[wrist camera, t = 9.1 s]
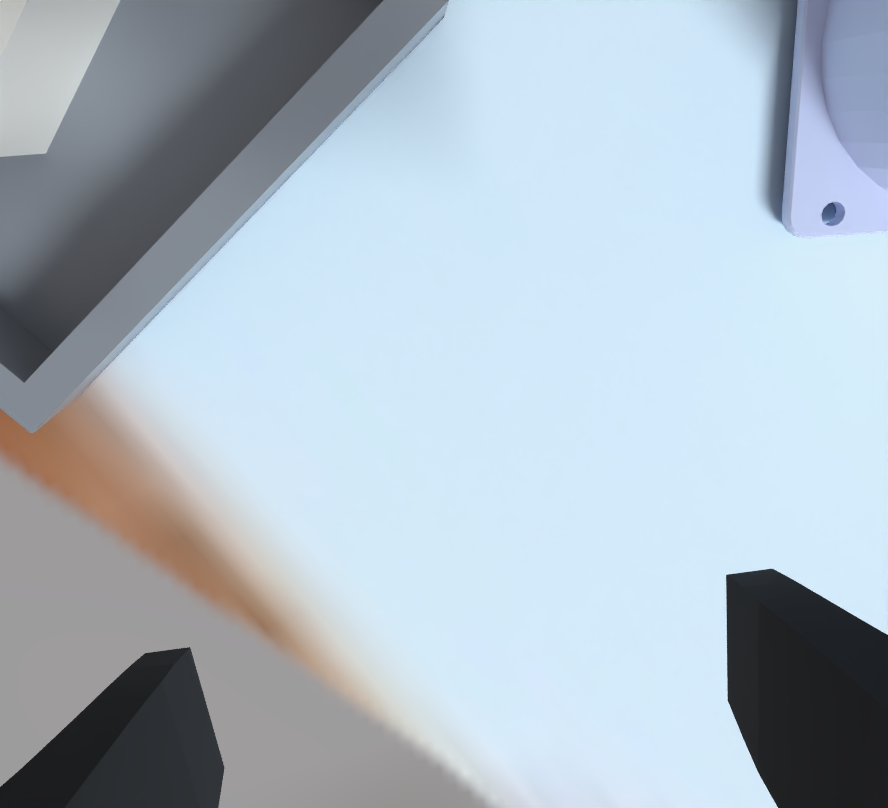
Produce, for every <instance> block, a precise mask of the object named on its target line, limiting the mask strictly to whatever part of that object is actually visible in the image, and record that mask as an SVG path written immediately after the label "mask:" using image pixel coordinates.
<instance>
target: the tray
mask: <svg viewBox="0 0 888 808" xmlns="http://www.w3.org/2000/svg"><path fill="white" fill-rule="evenodd" d="M448 1H449V0H120V2H119V4H118V6H117V8H116V11H115V13H114V15H113V17H112V19H111V21H110V23H109V25H108V27H107V29H106V31H105V33H104V35H103V37H102V39H101V41H100V43H99V45H98V48H97V50H96V52H95V54H94V56H93V58H92V60H91V62H90V64H89V66H88V68H87V70H86V72H85V74H84V76H83V78H82V80H81V82H80V84H79V87H78V89H77V91H76V93H75V95H74V97H73V99H72V101H71V103H70V105H69V107H68V109H67V111H66V113H65V115H64V117H63V119H62V121H61V124H60V126H59V128H58V130H57V132H56V134H55V136H54V138H53V140H52V142H51V144H50V146H49V148H48V150H47V152H46V154H33V155H19V156H5V157H0V409H2V410H3V411H4V412H5V413H7V414H8V415H9V416H10V417H11V418H13V419H14V420H15V421H16V422H18V423H19V424H20V425H21V426H23V427H24V428H25V429H26V430H28V431H29V432H30V433H31V434H33V433H34V432H35V431H37V430H38V429H39V428H40V427H41V426H43V425H44V424H45V423H46V422H48V421H49V420H50V419H51V418H53V417H54V416H55V415H56V414H57V413H59V412H60V411H61V410H62V409H64V408H65V407H66V406H67V405H69V404H70V403H71V402H72V401H73V400H75V399H76V398H77V397H78V396H79V395H80V394H81V393H82V392H83V391H84V390H85V389H86V388H87V387H88V386H89V385H90V384H91V383H92V382H93V381H94V380H95V379H96V378H97V377H98V375H99V374H100V373H101V372H102V371H103V370H104V369H105V368H106V367H107V366H108V365H109V364H110V363H111V362H112V361H113V360H114V359H115V358H116V357H117V356H118V355H119V354H120V353H121V352H122V351H123V350H124V349H125V347H126V346H127V345H128V344H129V343H130V342H131V341H132V340H133V339H134V338H135V337H136V336H137V335H138V334H139V333H140V332H141V331H142V330H143V329H144V328H145V327H146V326H147V325H148V324H149V323H150V322H151V321H152V319H153V318H154V317H155V316H156V315H157V314H158V313H159V312H160V311H161V310H162V309H163V308H164V307H165V306H166V305H167V304H168V303H169V302H170V301H171V300H172V299H173V298H174V297H175V296H176V295H177V294H178V293H179V292H180V290H181V289H182V288H183V287H184V286H185V285H186V284H187V283H188V282H189V281H190V280H191V279H192V278H193V277H194V276H195V275H196V274H197V273H198V272H199V271H200V270H201V269H202V268H203V267H204V266H205V265H206V264H207V262H208V261H209V260H210V259H211V258H212V257H213V256H214V255H215V254H216V253H217V252H218V251H219V250H220V249H221V248H222V247H223V246H224V245H225V244H226V243H227V242H228V241H229V240H230V239H231V238H232V237H233V236H234V234H235V233H236V232H237V231H238V230H239V229H240V228H241V227H242V226H243V225H244V224H245V223H246V222H247V221H248V220H249V219H250V218H251V217H252V216H253V215H254V214H255V213H256V212H257V211H258V210H259V209H260V208H261V207H262V205H263V204H264V203H265V202H266V201H267V200H268V199H269V198H270V197H271V196H272V195H273V194H274V193H275V192H276V191H277V190H278V189H279V188H280V187H281V186H282V185H283V184H284V183H285V182H286V181H287V180H288V179H289V177H290V176H291V175H292V174H293V173H294V172H295V171H296V170H297V169H298V168H299V167H300V166H301V165H302V164H303V163H304V162H305V161H306V160H307V159H308V158H309V157H310V156H311V155H312V154H313V153H314V152H315V151H316V149H317V148H318V147H319V146H320V145H321V144H322V143H323V142H324V141H325V140H326V139H327V138H328V137H329V136H330V135H331V134H332V133H333V132H334V131H335V130H336V129H337V128H338V127H339V126H340V125H341V124H342V123H343V122H344V120H345V119H346V118H347V117H348V116H349V115H350V114H351V113H352V112H353V111H354V110H355V109H356V108H357V107H358V106H359V105H360V104H361V103H362V102H363V101H364V100H365V99H366V98H367V97H368V96H369V95H370V94H371V92H372V91H373V90H374V89H375V88H376V87H377V86H378V85H379V84H380V83H381V82H382V81H383V80H384V79H385V78H386V77H387V76H388V75H389V74H390V73H391V72H392V71H393V70H394V69H395V68H396V67H397V66H398V64H399V63H400V62H401V61H402V60H403V59H404V58H405V57H406V56H407V55H408V54H409V53H410V52H411V51H412V50H413V49H414V48H415V47H416V46H417V45H418V44H419V43H420V42H421V41H422V40H423V39H424V38H425V37H426V35H427V34H428V33H429V32H430V31H431V30H432V29H433V28H434V27H435V26H436V25H437V24H438V23H439V22H440V21H441V20H442V19H443V18H444V15H445V11H446V8H447V5H448Z"/></svg>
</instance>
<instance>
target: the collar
mask: <svg viewBox="0 0 888 808" xmlns="http://www.w3.org/2000/svg"><path fill="white" fill-rule="evenodd" d="M119 2H120V0H0V157H5V156H19V155H33V154H46V152H47V150H48V148H49V146H50V144H51V142H52V140H53V138H54V136H55V134H56V132H57V130H58V128H59V126H60V124H61V121H62V119H63V117H64V115H65V113H66V111H67V109H68V107H69V105H70V103H71V101H72V99H73V97H74V95H75V93H76V91H77V89H78V87H79V84H80V82H81V80H82V78H83V76H84V74H85V72H86V70H87V68H88V66H89V64H90V62H91V60H92V58H93V56H94V54H95V52H96V50H97V48H98V45H99V43H100V41H101V39H102V37H103V35H104V33H105V31H106V29H107V27H108V25H109V23H110V21H111V19H112V17H113V15H114V13H115V11H116V8H117V6H118V4H119Z"/></svg>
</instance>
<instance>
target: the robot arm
mask: <svg viewBox="0 0 888 808" xmlns="http://www.w3.org/2000/svg"><path fill="white" fill-rule="evenodd" d="M832 202H833V204H834V205H835V207H836V213H835V216H834V218H833V219H832V220H831V221H830V222H829V223H826V224H825V223H824V222H823V221H822V216H821V214H822V211H823V209H824V208H825V207H826V206H827V205H828V204H829V203H832ZM782 222H783V225H784V227H785V229H786V230H787V231H788V232H789V233H791V234H792V235H794V236H798V237H803V238H817V237H831V236H845V235H858V234H872V233H886V232H888V0H798V6H797V19H796V32H795V46H794V59H793V72H792V86H791V99H790V112H789V125H788V139H787V152H786V165H785V178H784V192H783V205H782ZM726 589H727V677H728V702H729V704H730V707H731V709H732V712H733V714H734V717H735V719H736V722H737V724H738V726H739V729H740V731H741V734H742V736H743V739H744V741H745V743H746V746H747V748H748V750H749V752H750V755H751V757H752V759H753V762H754V764H755V766H756V768H757V771H758V773H759V774H760V776H761V778H762V780H763V782H764V784H765V785H766V787H767V789H768V791H769V792H770V794H771V796H772V798H773V800H774V801H775V803H776V805H777V807H778V808H888V635H887V634H885V633H883V632H881V631H880V630H878V629H876V628H874V627H873V626H871V625H869V624H868V623H866V622H864V621H862V620H861V619H859V618H857V617H856V616H854V615H852V614H850V613H849V612H847V611H845V610H844V609H842V608H840V607H839V606H837V605H835V604H833V603H832V602H830V601H828V600H827V599H825V598H823V597H822V596H820V595H818V594H816V593H815V592H813V591H811V590H810V589H808V588H806V587H804V586H803V585H801V584H799V583H798V582H796V581H794V580H792V579H790V578H789V577H787V576H785V575H783V574H781V573H779V572H777V571H776V570H774V569H767V570H759V571H752V572H744V573H737V574H729V575H726ZM223 773H224V765H223V762H222V758H221V754H220V751H219V747H218V744H217V740H216V737H215V733H214V730H213V726H212V723H211V719H210V716H209V712H208V709H207V705H206V701H205V698H204V695H203V691H202V688H201V684H200V681H199V677H198V674H197V670H196V666H195V663H194V659H193V656H192V652H191V649H190V647H189V648H181V649H174V650H166V651H159V652H152V653H145V654H144V655H143V656H141V657H140V658H139V659H138V660H137V661H135V662H134V663H133V664H132V665H131V666H130V667H129V668H128V669H126V670H125V671H124V672H123V673H122V674H121V675H120V676H119V677H118V678H117V679H116V680H115V681H114V682H113V683H111V684H110V685H109V686H108V687H107V688H106V689H105V690H104V691H103V692H102V693H101V694H100V695H99V696H98V697H97V698H96V699H95V700H94V701H93V702H91V704H89V705H88V706H87V707H86V708H85V709H84V710H83V711H82V712H81V713H80V714H79V715H78V716H77V717H76V718H75V719H74V720H73V721H72V722H70V723H69V724H68V725H67V726H66V727H65V728H64V729H63V730H62V731H61V732H60V733H59V734H58V735H57V736H56V737H55V738H54V739H52V740H51V741H50V742H49V743H48V744H47V745H46V746H45V747H44V748H43V749H42V750H41V751H40V752H39V753H38V754H37V755H36V756H34V758H32V759H31V760H30V761H29V762H28V763H27V764H26V765H25V766H24V767H23V768H22V769H20V770H19V771H18V772H17V773H16V774H15V775H14V776H12V777H11V778H10V779H9V780H8V781H7V782H6V783H4V784H3V785H2V786H1V787H0V808H218V805H219V799H220V792H221V786H222V780H223Z"/></svg>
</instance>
